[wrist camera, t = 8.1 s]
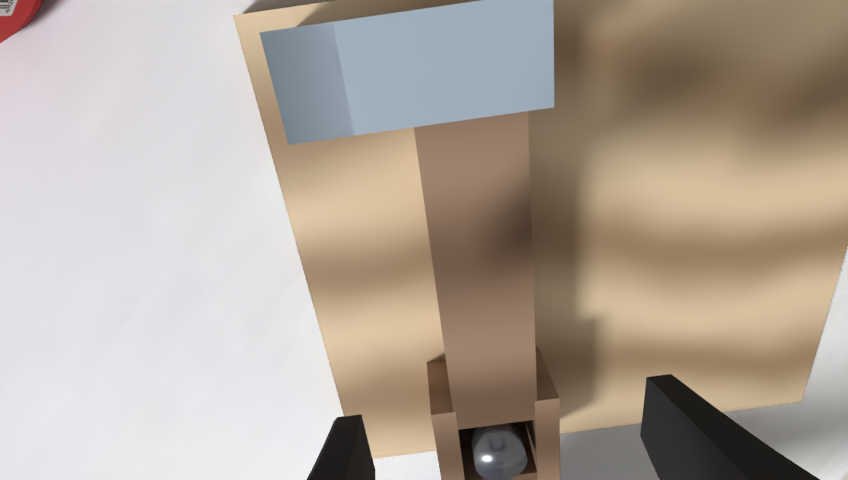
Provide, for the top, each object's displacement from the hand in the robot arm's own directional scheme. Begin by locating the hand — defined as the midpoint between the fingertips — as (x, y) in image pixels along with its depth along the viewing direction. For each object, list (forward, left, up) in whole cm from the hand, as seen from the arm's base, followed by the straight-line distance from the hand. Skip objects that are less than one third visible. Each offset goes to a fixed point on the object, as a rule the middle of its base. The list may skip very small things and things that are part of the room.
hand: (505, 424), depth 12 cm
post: (-8, 0, -9) cm, 12 cm away
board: (0, -5, -9) cm, 11 cm away
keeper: (+8, +1, -9) cm, 12 cm away
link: (-1, 0, -9) cm, 9 cm away
